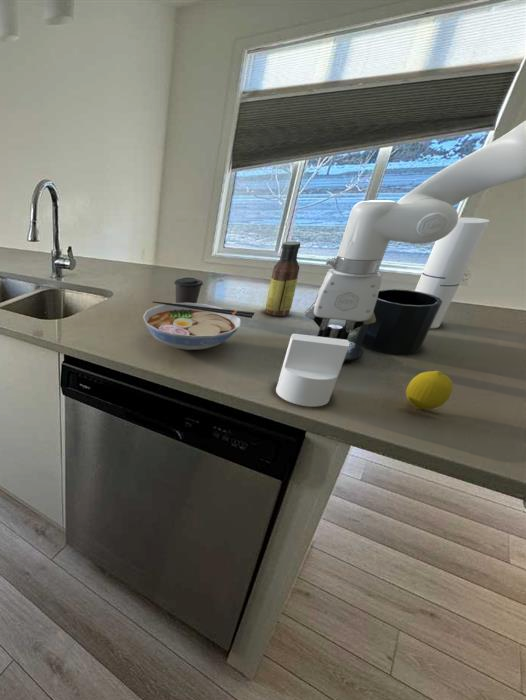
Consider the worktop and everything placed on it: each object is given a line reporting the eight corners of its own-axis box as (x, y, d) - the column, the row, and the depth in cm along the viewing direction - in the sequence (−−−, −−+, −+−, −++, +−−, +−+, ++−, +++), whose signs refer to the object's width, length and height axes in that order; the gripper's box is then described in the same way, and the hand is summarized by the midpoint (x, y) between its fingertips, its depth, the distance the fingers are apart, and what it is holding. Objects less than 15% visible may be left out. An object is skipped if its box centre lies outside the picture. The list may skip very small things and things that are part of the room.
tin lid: (358, 344, 96) (367, 320, 93) (365, 367, 87) (375, 341, 84) (295, 336, 102) (301, 313, 99) (294, 357, 93) (302, 333, 90)
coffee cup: (196, 317, 119) (201, 284, 114) (167, 314, 123) (171, 281, 118) (201, 308, 125) (206, 276, 120) (174, 305, 129) (178, 274, 124)
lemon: (443, 409, 73) (464, 371, 69) (434, 421, 71) (455, 382, 67) (404, 397, 77) (422, 360, 73) (394, 408, 75) (412, 370, 71)
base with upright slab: (274, 400, 80) (290, 345, 74) (277, 379, 86) (291, 327, 80) (330, 410, 76) (351, 353, 70) (328, 388, 82) (347, 334, 76)
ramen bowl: (121, 350, 104) (123, 321, 100) (157, 321, 119) (160, 294, 115) (224, 374, 90) (231, 341, 86) (251, 338, 105) (258, 308, 100)
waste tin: (413, 337, 97) (434, 291, 92) (424, 358, 89) (448, 308, 83) (352, 331, 103) (368, 287, 97) (357, 350, 95) (375, 303, 89)
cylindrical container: (404, 316, 108) (447, 216, 96) (441, 321, 104) (490, 218, 91) (399, 324, 104) (442, 221, 92) (437, 330, 100) (488, 223, 87)
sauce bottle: (288, 310, 118) (307, 240, 108) (289, 318, 113) (309, 245, 103) (263, 308, 121) (279, 239, 111) (263, 316, 116) (280, 244, 106)
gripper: (310, 267, 85) (287, 346, 95) (411, 272, 78) (376, 357, 87) (309, 259, 91) (288, 334, 100) (403, 262, 83) (371, 343, 92)
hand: (329, 344), depth 93 cm, fingers closed on tin lid, 2 cm apart
